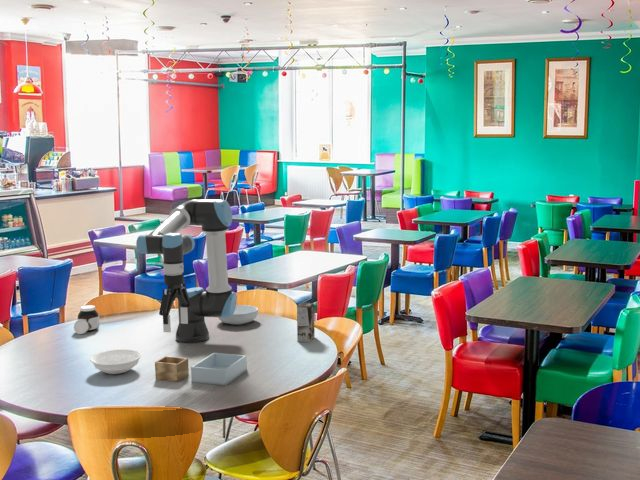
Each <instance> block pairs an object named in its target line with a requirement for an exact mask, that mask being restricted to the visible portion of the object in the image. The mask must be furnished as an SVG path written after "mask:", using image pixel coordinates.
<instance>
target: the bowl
mask: <svg viewBox="0 0 640 480" xmlns="http://www.w3.org/2000/svg"><path fill="white" fill-rule="evenodd" d="M141 358H142V353H141V352H140V351H138V350H132V349H113V350H106V351H103V352H98V353H95V354H94V355H92V356H91V357H90V362H91V363H92V364H93V366H94V368H95V369H97V370H99V371H101V372H103V373H105V374H108V375H119V374H123V373H127V372H128V371H130V370H131V369H133V368H134V367H135V366H137V365H138V364H139V360H140V359H141Z"/></svg>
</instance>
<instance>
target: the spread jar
mask: <svg viewBox="0 0 640 480" xmlns="http://www.w3.org/2000/svg"><path fill="white" fill-rule="evenodd" d="M76 319H77V320H76V321H75V323H74V324H73V331H74V332H75V333H76V334H77V335H84V334H86V333H93V332H96V331H97V330H98V329H99V328H100V314H99V312H98V311H97V310H96V306H95V305H92V304H89V305H82V306H80V311H79V312H78V315H77V318H76Z"/></svg>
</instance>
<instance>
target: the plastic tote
mask: <svg viewBox="0 0 640 480" xmlns="http://www.w3.org/2000/svg"><path fill="white" fill-rule="evenodd" d="M247 358H248V357H247V355H245V354H244V355H242V354H234V353H223V352H213V353H211V354H209V355H208V356H206V357H204V358H203V359H202V360H200V361H198V362H196V363H195V364H194V365H192V366H190V373H191V374H190V375H191V376H190V377H191V378H190V380H191V383H195V384H196V383H197V384H206V385H215V386H223V387H224V386H225V387H226V386H228V385H229V384H230V383H232V382H233V381H235V379H237V378H238V377H240V376H241V375H242V374H244V373H246V371H248V363H247V362H248V361H247Z"/></svg>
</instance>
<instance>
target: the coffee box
mask: <svg viewBox="0 0 640 480" xmlns="http://www.w3.org/2000/svg"><path fill="white" fill-rule="evenodd" d="M296 327H297V330H296V331H297V332H296V335H297V338H296V339H297V340H296V341H297V342H298V343H299V342H303V343H311V342H312V341H313V340H314V338H315V335H316V334H315V333H316V332H315V303H314V302H300V303H299V304H298V306H296Z"/></svg>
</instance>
